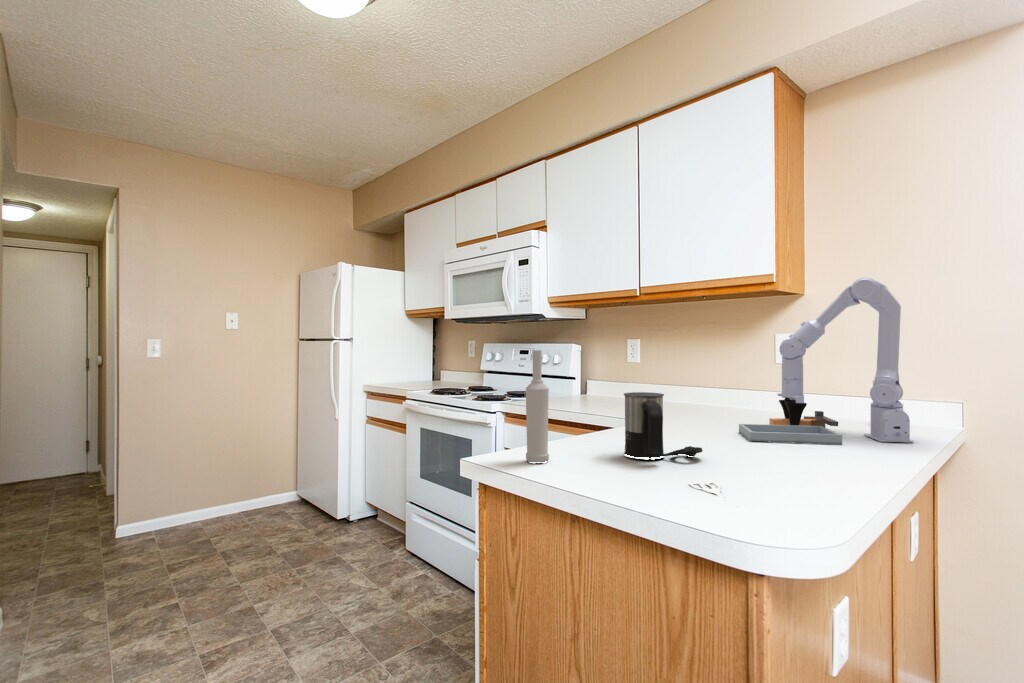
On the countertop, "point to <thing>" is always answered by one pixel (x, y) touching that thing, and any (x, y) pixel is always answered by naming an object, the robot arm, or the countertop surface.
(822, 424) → the clamp posts
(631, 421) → the milk frother
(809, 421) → the orange-brown bar
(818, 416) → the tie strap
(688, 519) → the countertop surface
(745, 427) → the parts tray
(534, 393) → the bottle
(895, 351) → the robot arm
